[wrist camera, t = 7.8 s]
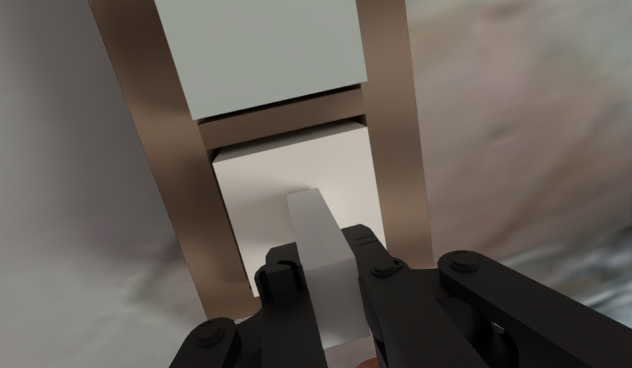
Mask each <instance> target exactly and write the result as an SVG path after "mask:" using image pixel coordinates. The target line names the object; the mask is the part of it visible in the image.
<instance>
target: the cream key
mask: <svg viewBox="0 0 632 368" xmlns="http://www.w3.org/2000/svg"><path fill="white" fill-rule="evenodd" d="M212 164H213V167H214V170H215V173H216V176H217V179H218V183H219V186H220V189H221V192H222V195H223V199H224V202H225V205H226V208H227V211H228V214H229V218H230V221H231V224H232V227H233V230H234V234H235V237H236V240H237V243H238V246H239V250H240V253H241V256H242V259H243V262H244V265H245V269H246V272H247V275H248V278H249V281H250V285H251V288H252V291H253V294H254V297H257V296H259V293H258V290H257V287H256V284H255V280H254V276H255V273H256V271H257V270H258V269H259V268H260V267H261V266H263V265H265V264H266V262H265V256H266V255H267V253H268V251H269V250H270V248H273V247H277V246H281V245H285V244H288V243H292V242H296V239H295V235H294V230H293V225H292V221H291V216H290V212H289V207H288V202H287V198H286V195H288V194H292V193H296V192H300V191H305V190H309V189H313V188H317V187H318V189H319V191H320V192H321V194H322V196H323V198H324V200H325V202H326V204H327V206H328V207H329V209H330V211H331V213H332V215H333V217H334V219H335V220H336V222H337V224H338V226H339V228H340V229H342V228H346V227H350V226H354V225H357V224H363V225H365V226H367V227H369V228H371V230H372V231H373V232H374V234H375V236H377V238H378V239H379V241H380V242H381V243H382V245H383V246H384V247H385V249H386V250H387V248H386V242H385V235H384V229H383V223H382V216H381V210H380V204H379V198H378V191H377V185H376V179H375V172H374V166H373V160H372V153H371V147H370V141H369V134H368V128H367V127H366V126H364V125H362V124H359V123H357V122H354V121H352V120H349V119H347V118H344V119H339V120H335V121H331V122H326V123H322V124H318V125H313V126H309V127H305V128H300V129H296V130H292V131H287V132H283V133H279V134H274V135H270V136H266V137H262V138H257V139H253V140H249V141H244V142H240V143H236V144H231V145H227V146H223V147H222V149H221V150H220V152H219V154H218V155H217V157H216V158H215V160H214V162H213V163H212Z"/></svg>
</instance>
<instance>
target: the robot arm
mask: <svg viewBox="0 0 632 368" xmlns="http://www.w3.org/2000/svg"><path fill="white" fill-rule="evenodd" d="M286 198H287V202H288V207H289V212H290V216H291V221H292V225H293V230H294V235H295V239H296V242H292V243H288V244H285V245H281V246H277V247H273V248H270V250H269V251H268V253H267V255H266V256H265V262H266V264H265V265H263V266H261V267H260V268H259V269H258V270H257V271H256V273H255V276H254V280H255V284H256V287H257V290H258V293H259V297H260V300H261V303H262V308H261V309H260V310H259V311H258V312H257V313H256V314H255V315H253V316H252V317H250V318H248V319H247V320H245V321H243V322H241V323H239V324H237V325H236V324H235V322H234V320H232V319H230V318H228V317H218V318H214V319H210V320H208V321H206V322H204V323H202V324H200V325H199V326H197V327H196V328H195V329H193V330H192V331H191V332H190V334H189V335H188V336H187V337H186V339H185V341H184V342H183V344H182V346H181V347H180V349H179V351H178V353H177V354H176V356H175V358H174V359H173V361H172V363H171V365H170V366H169V368H328V366H327V362H326V358H325V354H324V350H323V349H326V348H329V347H333V346H336V345H340V344H343V343H346V342H350V341H353V340H357V339H360V338H364V337H367V336H370V331H369V327H370V329H371V331H372V334H373V338H374V343H375V349H376V354H377V359H378V365H379V368H632V329H631V328H629V327H627V326H625V325H623V324H621V323H619V322H617V321H615V320H613V319H611V318H609V317H607V316H605V315H603V314H601V313H599V312H597V311H595V310H593V309H591V308H589V307H587V306H585V305H583V304H581V303H579V302H577V301H575V300H573V299H571V298H569V297H567V296H565V295H563V294H561V293H559V292H557V291H555V290H553V289H551V288H549V287H547V286H545V285H543V284H540V283H538V282H536V281H534V280H532V279H530V278H528V277H526V276H524V275H522V274H520V273H518V272H516V271H514V270H512V269H510V268H508V267H506V266H504V265H502V264H500V263H498V262H496V261H494V260H492V259H490V258H488V257H486V256H484V255H482V254H479V253H476V252H473V251H465V250H459V251H453V252H449V253H446V254H444V255H443V256H441V257H440V258H439V260H438V262H437V263H438V268H436V269H411V268H410V267H409V266H408V265H407V264H406V263H405V262H404V261H403V260H401V259H399V258H395V257H391V255H390V254H389V253H388V251H387V250H386V249H385V247H384V246H383V245H382V243H381V242H380V241H379V239H378V238H377V236H375V234H374V232H373V231H372V230H371V228H369V227H367V226H365V225H363V224H357V225H354V226H350V227H346V228H342V229H340V228H339V226H338V224H337V222H336V220H335V219H334V217H333V215H332V213H331V211H330V209H329V207H328V206H327V204H326V202H325V200H324V198H323V196H322V194H321V192H320V191H319V189H318V187H317V188H313V189H309V190H305V191H300V192H296V193H292V194H288V195H286ZM494 323H496V324H497V325H499V326H500V327H501V328H503V329H504V330H503V329H501V328H499V327H498V326H497V325H495V324H494ZM368 325H369V326H368Z"/></svg>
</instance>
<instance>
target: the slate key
mask: <svg viewBox="0 0 632 368" xmlns="http://www.w3.org/2000/svg"><path fill="white" fill-rule="evenodd" d="M154 1H155V4H156V7H157V10H158V13H159V16H160V19H161V22H162V26H163V29H164V32H165V35H166V38H167V41H168V44H169V47H170V51H171V54H172V57H173V60H174V63H175V66H176V69H177V72H178V76H179V79H180V82H181V85H182V88H183V91H184V94H185V97H186V101H187V104H188V107H189V110H190V113H191V116H192V119H193V120H196V119H200V118H205V117H209V116H214V115H218V114H223V113H227V112H232V111H236V110H240V109H245V108H249V107H254V106H258V105H263V104H267V103H272V102H276V101H281V100H285V99H290V98H294V97H299V96H303V95H308V94H312V93H317V92H321V91H326V90H330V89H335V88H339V87H343V86H348V85H352V84H357V83H361V82H366V81H368V80H367V73H366V66H365V60H364V53H363V46H362V40H361V33H360V27H359V20H358V13H357V7H356V0H154Z"/></svg>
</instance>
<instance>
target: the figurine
mask: <svg viewBox="0 0 632 368" xmlns="http://www.w3.org/2000/svg"><path fill="white" fill-rule="evenodd" d="M356 368H379V365H378V359H377V358H373V359H370V360H367V361H365V362H363V363H361V364H360V365H359V366H357V367H356Z"/></svg>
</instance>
